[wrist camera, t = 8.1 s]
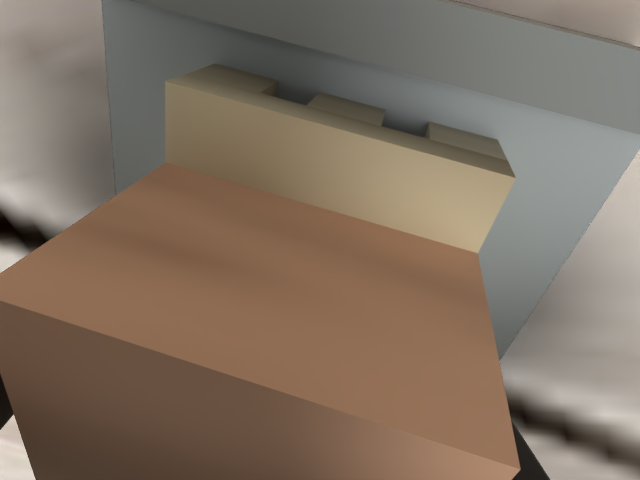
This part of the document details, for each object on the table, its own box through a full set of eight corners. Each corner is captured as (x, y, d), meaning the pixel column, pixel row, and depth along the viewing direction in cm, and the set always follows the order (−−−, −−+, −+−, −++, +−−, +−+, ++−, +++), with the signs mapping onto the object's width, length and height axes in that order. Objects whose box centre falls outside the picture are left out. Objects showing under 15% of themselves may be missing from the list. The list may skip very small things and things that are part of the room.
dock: (438, 388, 16) (442, 511, 12) (165, 301, 16) (89, 392, 13) (634, 45, 9) (775, 85, 5) (164, -72, 10) (10, -107, 6)
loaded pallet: (366, 427, 14) (332, 679, 9) (195, 371, 14) (69, 581, 9) (497, 140, 8) (607, 370, 3) (214, 63, 9) (-70, 165, 4)
